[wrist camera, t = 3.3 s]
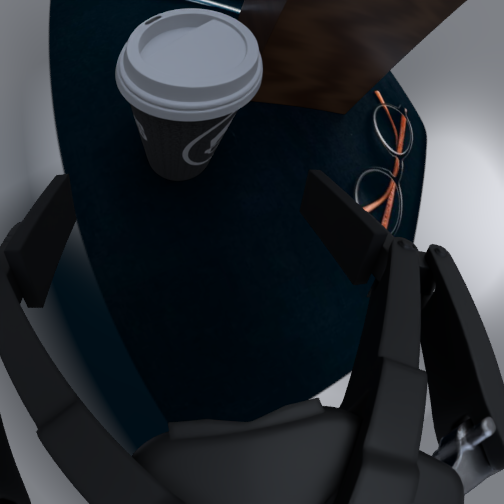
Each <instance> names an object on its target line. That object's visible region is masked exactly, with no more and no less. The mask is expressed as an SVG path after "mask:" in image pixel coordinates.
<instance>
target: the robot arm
mask: <svg viewBox="0 0 504 504" xmlns="http://www.w3.org/2000/svg"><path fill="white" fill-rule="evenodd" d="M300 212H301V214H302V215H303V216H304V218H305V219H306V220H307V222H308V223H309V224H310V226H311V227H312V228H313V230H314V231H315V232H316V234H317V235H318V236H319V238H320V239H321V240H322V242H323V243H324V244H325V246H326V247H327V249H328V250H329V251H330V253H331V254H332V255H333V257H334V258H335V260H336V261H337V262H338V264H339V265H340V267H341V268H342V269H343V271H344V272H345V274H346V275H347V277H348V278H349V279H350V281H351V282H352V284H353V285H358V284H365V283H367V281H368V279H369V277H370V275H371V273H372V274H373V275H374V277H375V281H374V283H373V285H372V287H371V289H370V291H369V293H368V295H367V297H369V296H370V300H369V305H368V309H367V314H366V319H365V323H364V327H363V331H362V336H361V340H360V344H359V347H358V351H357V355H356V359H355V362H354V366H353V369H352V373H351V376H350V380H349V383H348V387H347V390H346V393H345V396H344V399H343V402H342V404H341V405H340V407H339V408H335V407H328V406H322V405H321V403H320V400H319V398H315V399H311V400H307V401H303V402H299V403H295V404H290V405H286V406H284V407H282V408H280V409H277V410H275V411H273V412H271V413H269V414H267V415H265V416H263V417H261V418H259V419H256V420H254V421H252V422H234V421H222V420H212V419H203V420H193V421H183V422H169V423H168V427H169V431H168V432H166V433H162V434H160V435H158V436H156V437H154V438H152V439H151V440H149V441H147V442H146V443H144V444H143V445H142V446H141V447H139V448H138V450H137V451H135V453H134V454H133V455H132V456H130V454H128V453H127V452H126V451H125V450H124V449H123V447H122V446H120V444H119V443H118V442H117V441H116V440H115V439H114V438H113V437H112V436H111V435H110V434H109V433H108V432H107V431H106V429H104V427H103V426H102V425H101V424H100V423H99V421H98V420H97V419H96V418H95V417H94V416H93V414H92V413H91V412H90V411H89V410H88V409H87V407H86V406H85V405H84V403H83V402H82V401H81V400H80V398H79V397H78V396H77V394H76V393H75V392H74V391H73V389H72V388H71V386H70V385H69V384H68V383H67V381H66V380H65V378H64V377H63V375H62V374H61V373H60V371H59V370H58V368H57V367H56V365H55V364H54V362H53V361H52V359H51V358H50V356H49V355H48V353H47V351H46V350H45V348H44V347H43V345H42V343H41V342H40V340H39V338H38V337H37V335H36V333H35V331H34V330H33V328H32V326H31V325H30V323H29V321H28V319H27V317H26V315H25V313H24V311H23V309H22V308H21V306H20V303H21V300H22V298H24V300H25V302H26V304H27V307H28V308H41V307H42V308H43V306H44V303H45V299H46V297H47V294H48V291H49V288H50V285H51V282H52V279H53V276H54V273H55V271H56V268H57V265H58V263H59V260H60V257H61V255H62V252H63V250H64V247H65V245H66V242H67V240H68V238H69V235H70V233H71V231H72V229H73V226H74V224H75V222H76V215H75V209H74V204H73V198H72V192H71V185H70V178H69V174H63V175H56V176H55V178H54V179H53V180H52V181H51V183H50V184H49V185H48V186H47V188H46V189H45V190H44V192H43V193H42V194H41V196H40V197H39V198H38V200H37V201H36V203H35V204H34V205H33V207H32V208H31V209H30V211H29V212H28V214H27V215H26V217H25V218H24V220H23V221H22V222H19V223H17V224H16V225H15V226H14V227H13V228H12V229H11V230H10V232H9V233H8V235H7V237H6V238H5V239H4V241H3V243H2V244H1V246H0V356H1V359H2V361H3V363H4V366H5V368H6V370H7V372H8V374H9V376H10V378H11V380H12V382H13V384H14V386H15V388H16V390H17V392H18V394H19V396H20V398H21V400H22V402H23V403H24V405H25V407H26V408H27V410H28V412H29V414H30V416H31V417H32V419H33V421H34V422H35V424H36V426H37V428H38V430H37V435H38V437H39V439H40V441H41V442H42V444H43V446H44V447H45V448H46V450H47V451H48V453H49V454H50V455H51V457H52V458H53V460H54V461H55V462H56V464H57V465H58V467H59V468H60V469H61V471H62V472H63V473H64V474H65V476H66V477H67V478H68V479H69V481H70V482H71V483H72V484H73V486H74V487H75V488H76V489H77V490H78V491H79V493H80V494H81V495H82V496H83V497H84V498H85V499H86V501H87V502H88V503H89V504H464V495H465V494H467V493H468V492H469V491H471V490H472V489H474V488H475V487H476V486H477V485H479V484H480V483H481V482H482V481H484V480H485V479H486V478H488V477H489V476H491V475H493V474H495V473H497V472H499V471H501V470H502V469H504V384H503V380H502V377H501V374H500V370H499V367H498V364H497V361H496V358H495V355H494V352H493V349H492V346H491V343H490V341H489V338H488V335H487V333H486V330H485V327H484V325H483V322H482V320H481V318H480V315H479V313H478V311H477V308H476V306H475V304H474V301H473V299H472V297H471V295H470V293H469V291H468V288H467V286H466V284H465V282H464V280H463V278H462V276H461V274H460V272H459V270H458V268H457V266H456V264H455V263H454V261H453V259H452V257H451V255H450V254H449V252H448V251H446V249H445V248H443V247H442V246H438V245H434V244H432V245H430V246H429V248H428V250H427V252H420V251H418V249H417V247H416V246H415V245H414V244H413V243H412V242H411V241H409V240H407V239H405V238H402V237H394V236H393V235H392V234H391V233H390V232H389V231H388V230H387V229H386V228H385V227H384V226H383V225H381V223H380V222H379V221H377V220H376V219H375V218H374V217H373V216H372V215H371V214H370V213H368V212H367V211H365V210H364V209H363V208H362V207H361V206H360V205H359V204H358V203H357V202H356V201H354V200H353V199H352V198H351V197H350V196H349V195H348V194H347V193H346V192H345V191H344V190H342V189H341V188H340V187H339V186H338V185H337V184H336V183H335V182H333V181H332V180H331V179H330V178H329V177H328V176H327V175H325V174H324V173H323V172H322V171H321V170H309V172H308V176H307V181H306V186H305V190H304V195H303V199H302V203H301V208H300ZM434 289H435V290H434ZM433 291H434V292H433ZM420 343H421V347H422V353H423V357H424V363H425V369H426V372H425V371H423V370H420V369H419V355H420ZM427 382H428V387H429V394H430V400H431V409H432V417H433V422H434V429H435V433H436V437H437V441H438V444H439V448H438V450H436V451H435V452H434V453H433V455H432V456H430V455H428V454H426V453H424V452H422V451H420V450H419V446H420V441H421V435H422V428H423V421H424V413H425V404H426V393H427ZM0 504H31V502H30V499H29V496H28V493H27V491H26V488H25V486H24V483H23V481H22V478H21V476H20V473H19V471H18V468H17V466H16V463H15V460H14V458H13V455H12V452H11V449H10V446H9V443H8V439H7V436H6V433H5V429H4V426H3V422H2V418H1V414H0Z"/></svg>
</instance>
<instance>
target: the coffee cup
mask: <svg viewBox="0 0 504 504" xmlns="http://www.w3.org/2000/svg"><path fill="white" fill-rule="evenodd" d="M262 73H263V65H262V58H261V55H260V52H259V47H258V43H257V40H256V38H255V37H254V35H253V34H252V32H251V31H250V30H249V29H248V28H247V27H246V26H245V25H243V24H242V23H241V22H239V21H238V20H236V19H234V18H232V17H230V16H228V15H225V14H222V13H219V12H216V11H211V10H206V9H178V10H172V11H168V12H164V13H161V14H158V15H156V16H154V17H151V18H150V19H148V20H146V21H145V22H143V23H142V24H140V25H139V26H138V27H137V28H136V29H135V30H134V31H133V33H132V34H131V36H130V38H129V40H128V42H127V43H126V44H125V46H124V47H123V49H122V51H121V53H120V55H119V58H118V62H117V66H116V73H115V76H116V83H117V86H118V88H119V90H120V92H121V94H122V95H123V96H124V98H125V99H126V100H127V101H128V102H129V103H130V104H131V108H132V111H133V114H134V117H135V121H136V124H137V127H138V130H139V134H140V137H141V140H142V143H143V146H144V149H145V152H146V155H147V158H148V161H149V164H150V166H151V167H152V169H153V170H154V171H155V172H156V173H157V174H158V175H160V176H161V177H163V178H165V179H168V180H173V181H183V180H188V179H191V178H193V177H195V176H197V175H199V174H200V173H201V172H202V171H203V170H204V169H205V168H206V166H207V165H208V163H209V161H210V159H211V157H212V155H213V154H214V152H215V150H216V148H217V146H218V144H219V142H220V141H221V139H222V137H223V135H224V133H225V132H226V130H227V128H228V126H229V124H230V123H231V121H232V119H233V117H234V116H235V114H236V112H237V111H238V109H240V108H241V107H243V106H244V105H246V104H247V103H248V102H249V101H250V100H251V99H252V98H253V97H254V96H255V94H256V93H257V91H258V90H259V87H260V85H261V82H262Z"/></svg>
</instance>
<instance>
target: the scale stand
mask: <svg viewBox="0 0 504 504" xmlns="http://www.w3.org/2000/svg"><path fill="white" fill-rule="evenodd" d="M465 1H467V0H245V1H244V3H243V6H242V9H241V12H240V15H239V18H238V21H239V22H241V23H242V24H243V25H245V26H246V27H247V28H248V29H249V30H250V31H251V32H252V34H253V35H254V37H255V38H256V40H257V43H258V47H259V52H260V55H261V58H262V65H263V73H262V82H261V85H260V87H259V90H258V91H257V93H256V94H255V96H254V97H253V98H252V99H251V100H250V101H255V102H266V103H275V104H284V105H291V106H299V107H305V108H312V109H318V110H324V111H329V112H335V113H340V114H346V113H347V112H348V111H349V110H350V109H351V108H352V107H353V106H354V105H355V104H356V103H357V102H358V101H359V100H360V99H361V98H362V97H363V96H364V95H365V94H366V93H367V92H368V91H369V90H370V89H371V88H372V87H373V86H374V85H375V84H376V83H377V82H378V81H379V80H380V79H381V78H382V77H384V76H385V75H386V74H387V73H388V72H389V71H390V70H391V69H392V68H393V67H394V66H395V65H396V64H397V63H398V62H399V61H400V60H401V59H402V58H404V56H406V55H407V54H408V53H409V52H410V51H411V50H412V49H413V48H414V47H415V46H416V45H417V44H419V43H420V42H421V41H422V40H423V39H424V38H425V37H426V36H427V35H428V34H429V33H430V32H432V31H433V30H434V29H435V28H436V27H437V26H438V25H439V24H441V23H442V22H443V21H444V20H445V19H446V18H447V17H448V16H450V15H451V14H452V13H453V12H454V11H455V10H456V9H457V8H458V7H460V6H461V5H462V4H463V3H464V2H465Z"/></svg>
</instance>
